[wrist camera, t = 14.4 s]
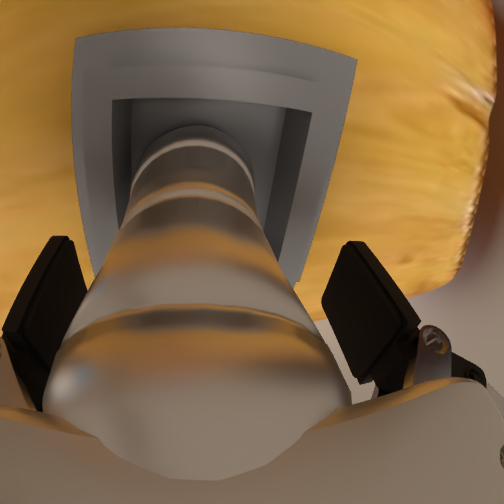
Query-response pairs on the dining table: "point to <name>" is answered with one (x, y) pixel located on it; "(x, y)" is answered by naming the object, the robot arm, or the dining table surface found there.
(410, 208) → the dining table surface
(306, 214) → the gray square tray
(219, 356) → the plastic bottle
